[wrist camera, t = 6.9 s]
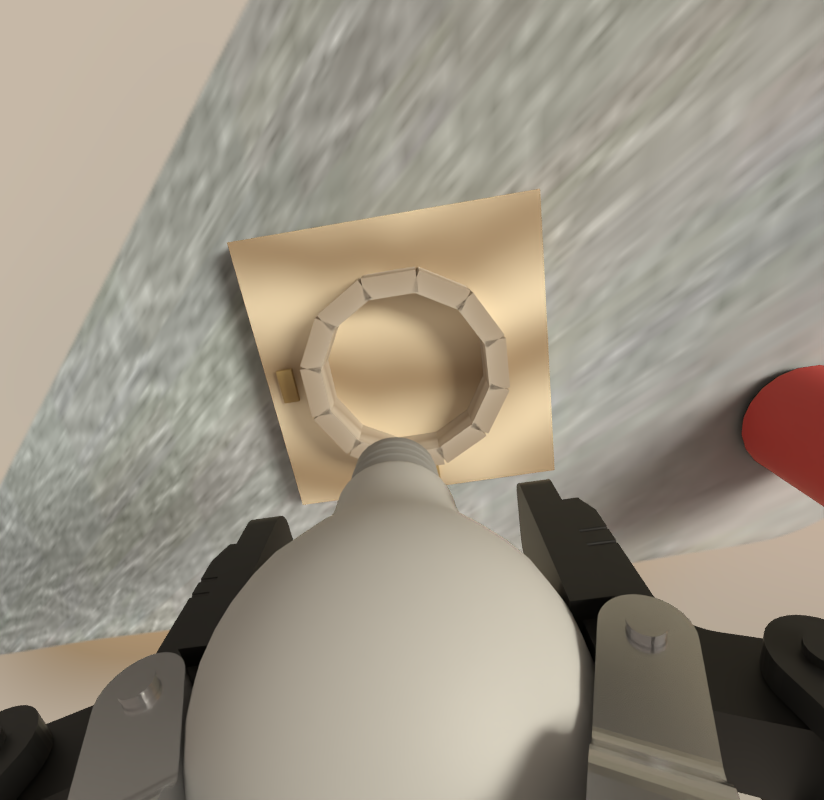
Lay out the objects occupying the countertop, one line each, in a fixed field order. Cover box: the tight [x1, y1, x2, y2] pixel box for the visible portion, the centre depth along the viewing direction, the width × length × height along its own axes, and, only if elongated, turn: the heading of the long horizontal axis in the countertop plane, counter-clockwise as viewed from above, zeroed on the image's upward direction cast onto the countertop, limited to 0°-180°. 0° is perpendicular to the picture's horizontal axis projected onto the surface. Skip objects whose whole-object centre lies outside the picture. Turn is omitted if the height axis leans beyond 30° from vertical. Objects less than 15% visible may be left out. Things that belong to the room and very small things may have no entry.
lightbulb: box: [183, 437, 595, 800], centre depth 9 cm, size 6×6×11 cm
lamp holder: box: [227, 189, 554, 505], centre depth 23 cm, size 15×15×4 cm
